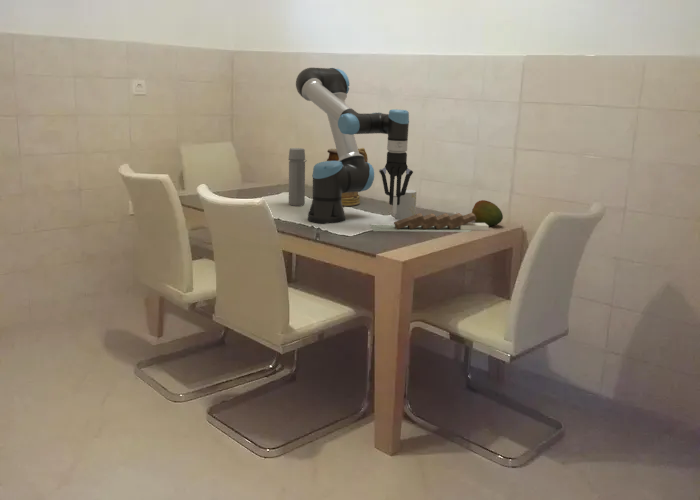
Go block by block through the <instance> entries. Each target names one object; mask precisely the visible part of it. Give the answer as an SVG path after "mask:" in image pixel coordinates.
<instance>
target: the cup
mask: <svg viewBox="0 0 700 500" xmlns="http://www.w3.org/2000/svg"><path fill="white" fill-rule="evenodd" d="M401 190H402V188H401ZM417 192H418V191H417V190H414V189H408V188H407V189H406V192H405V195H402V196H400V204H399V205H397V213H396V214H394V215H395V217H394V219H395V220H396V221H399V220H402V219H405V218H407V217H410V216H413V215H416V208H417V207H416V206H417Z"/></svg>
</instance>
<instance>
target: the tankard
mask: <svg viewBox="0 0 700 500" xmlns="http://www.w3.org/2000/svg"><path fill="white" fill-rule="evenodd" d="M358 151H359V154H361V155H363V156H364V159H365V162H367V163H368V162H369V161H368V154H367V151H366V149H365V147H361V148H358ZM327 153H328V154H329V155H328V158H326V161H338V160H339V156H338V153H337V149H336V148H329V149H327ZM341 202H342V206H343V207H353V206H354V207H355V206H358V205H360V204H361V200H360V194H359V192H348V193H342V195H341Z"/></svg>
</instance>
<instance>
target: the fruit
mask: <svg viewBox="0 0 700 500" xmlns="http://www.w3.org/2000/svg"><path fill="white" fill-rule="evenodd" d="M471 210H472V211H471V213H473V214H474V215H475V216H476V220H474V221H473V222H475V223H486V224H487V225H489V227H492V226H496V225H498V224H500V223H501V222H502V221H503V218H504V215H503V212H502V210H501V209H500V208H499V207H498V205H496V204H495V203H493V202H491V201H489V200H483V199H482V200H479V201H477V202H475V203H474V205H473V207H472V209H471Z"/></svg>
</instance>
